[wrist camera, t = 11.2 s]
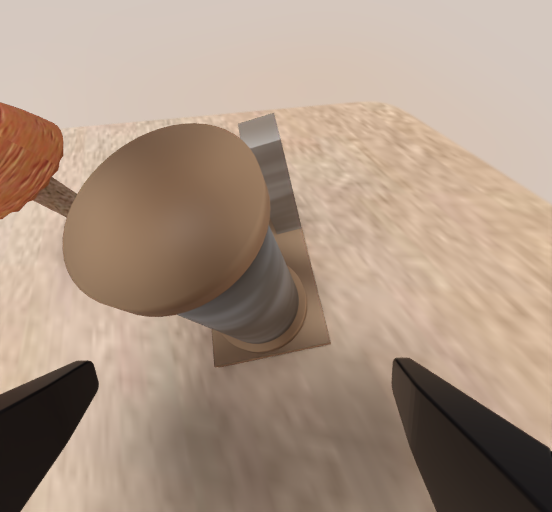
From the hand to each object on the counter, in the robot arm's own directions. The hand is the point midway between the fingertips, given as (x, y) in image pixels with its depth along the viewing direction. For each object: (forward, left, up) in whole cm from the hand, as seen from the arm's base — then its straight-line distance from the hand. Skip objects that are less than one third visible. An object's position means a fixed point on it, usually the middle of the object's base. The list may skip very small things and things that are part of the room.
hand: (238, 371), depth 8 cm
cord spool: (0, +5, -11) cm, 12 cm away
